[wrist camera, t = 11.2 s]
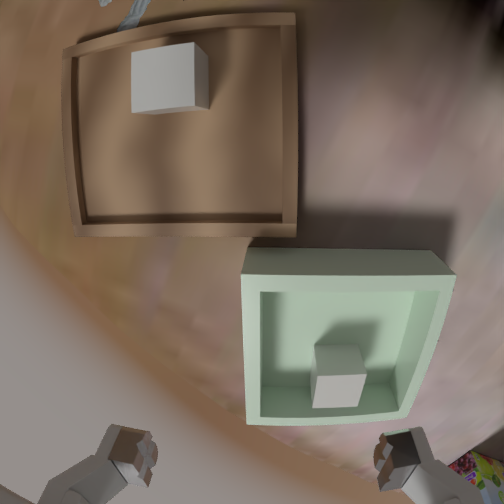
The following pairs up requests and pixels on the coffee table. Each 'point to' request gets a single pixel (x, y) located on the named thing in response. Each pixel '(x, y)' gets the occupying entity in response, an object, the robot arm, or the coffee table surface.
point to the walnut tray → (186, 134)
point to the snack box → (482, 475)
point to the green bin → (339, 327)
